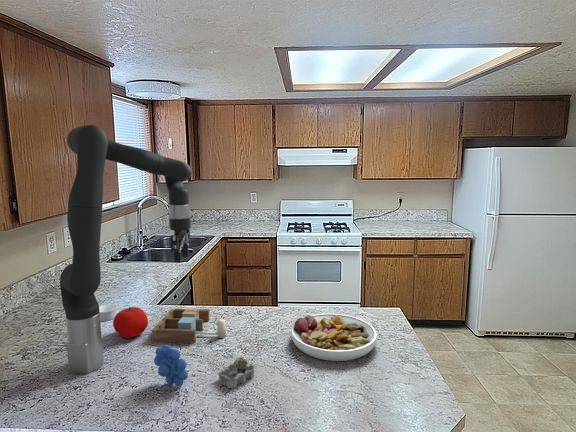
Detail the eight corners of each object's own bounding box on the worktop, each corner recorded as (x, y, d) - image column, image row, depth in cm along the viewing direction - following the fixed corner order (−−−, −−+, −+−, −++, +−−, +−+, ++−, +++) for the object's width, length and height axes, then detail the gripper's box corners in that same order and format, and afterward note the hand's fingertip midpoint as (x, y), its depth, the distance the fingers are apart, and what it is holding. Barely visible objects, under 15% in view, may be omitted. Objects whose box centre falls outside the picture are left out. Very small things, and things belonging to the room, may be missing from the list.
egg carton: (243, 367, 120) (243, 355, 119) (258, 376, 115) (258, 364, 114) (214, 380, 113) (214, 368, 112) (230, 391, 107) (230, 378, 107)
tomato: (134, 325, 150) (132, 300, 148) (155, 332, 144) (153, 306, 142) (108, 337, 140) (106, 310, 139) (129, 345, 134) (127, 317, 132)
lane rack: (194, 343, 135) (194, 331, 135) (152, 341, 136) (151, 330, 136) (209, 319, 155) (209, 309, 154) (172, 318, 156) (172, 308, 155)
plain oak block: (195, 328, 147) (194, 313, 147) (182, 328, 148) (182, 313, 147) (199, 322, 152) (198, 308, 152) (186, 322, 153) (186, 308, 152)
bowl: (378, 330, 146) (378, 311, 145) (373, 371, 117) (374, 348, 116) (302, 321, 154) (302, 303, 153) (281, 358, 125) (281, 336, 124)
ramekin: (89, 321, 154) (89, 310, 154) (105, 312, 163) (104, 303, 162) (108, 323, 152) (107, 313, 152) (122, 314, 161) (122, 304, 160)
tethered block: (224, 339, 138) (223, 323, 137) (178, 338, 139) (177, 322, 138) (227, 333, 143) (226, 318, 142) (183, 332, 144) (182, 317, 143)
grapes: (145, 387, 109) (142, 348, 107) (161, 375, 115) (159, 338, 113) (177, 397, 104) (175, 356, 103) (193, 384, 110) (191, 345, 109)
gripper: (183, 219, 132) (185, 264, 134) (195, 213, 146) (197, 254, 148) (162, 219, 132) (164, 264, 135) (176, 213, 147) (178, 254, 149)
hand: (181, 259), depth 142 cm, fingers open, 8 cm apart
